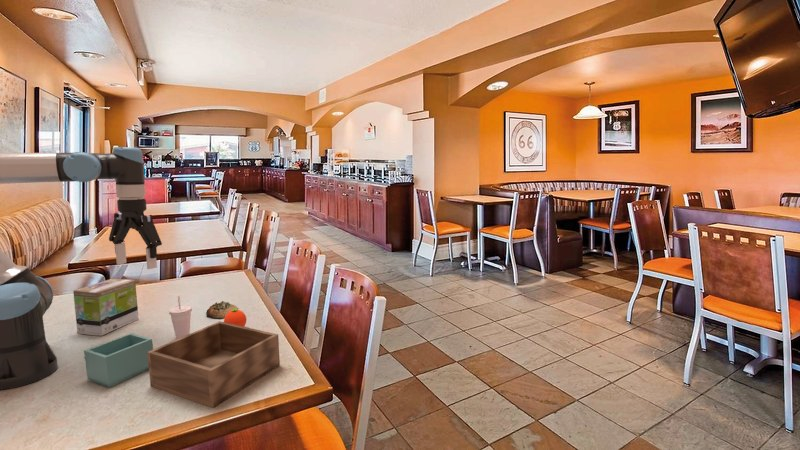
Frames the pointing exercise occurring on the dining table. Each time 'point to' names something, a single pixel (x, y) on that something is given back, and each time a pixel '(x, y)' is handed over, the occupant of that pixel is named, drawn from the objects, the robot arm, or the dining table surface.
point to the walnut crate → (213, 362)
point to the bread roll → (220, 310)
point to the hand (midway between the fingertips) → (136, 266)
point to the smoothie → (181, 319)
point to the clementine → (235, 318)
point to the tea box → (105, 306)
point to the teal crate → (117, 359)
